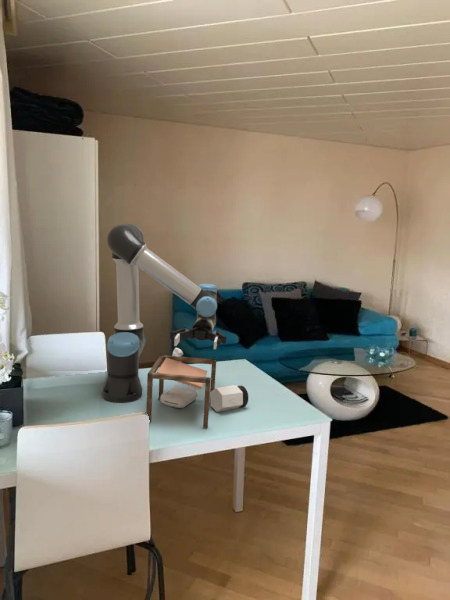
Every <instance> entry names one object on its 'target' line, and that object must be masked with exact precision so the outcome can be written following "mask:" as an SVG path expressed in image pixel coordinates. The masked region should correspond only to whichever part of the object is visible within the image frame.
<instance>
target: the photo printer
mask: <svg viewBox="0 0 450 600" xmlns="http://www.w3.org/2000/svg"><path fill="white" fill-rule="evenodd" d="M197 398H198V391H197V390H196V389H193V388H191V387H185V386H182V385H174V386H172V387H170V389H167V390H166V391H163V394H162V395H161V397H160V400H159V402H160V403H162V404H163V405H165V406H167V407H168V406H169V407H171V408H177V409H183V408H186V406H188V405H190V404H191V403H193V402H194V401H196V399H197Z"/></svg>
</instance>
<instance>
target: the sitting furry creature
mask: <svg viewBox="0 0 450 600" xmlns="http://www.w3.org/2000/svg"><path fill="white" fill-rule="evenodd" d="M183 355H184V352H183V350H182V349H180V348H179V347H175V348H174V349H173V351H172V354H171V356H179V357H183Z"/></svg>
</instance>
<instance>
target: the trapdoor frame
mask: <svg viewBox="0 0 450 600" xmlns="http://www.w3.org/2000/svg"><path fill="white" fill-rule="evenodd" d="M166 358H169V359H172V360H175V361H178V362H181V363H190V364H192V363H193V364H204V365H205V364H206V365H211V372H210V377H209V376H208V377H207V376H206V377H197V376H186V375H174V374H162V373H157V371H158V370H159V368H160V367H161V365H162V364H163V362H164V361H165V359H166ZM216 371H217V359H212V358H203V357H188V356H181V357H179V356H172V355H167V354H166V355H165V354H161V355H159V356H158V358H157V360H156V361H155V362H154V364H153V365H152V367H151V368H150V370H148V373H147V374H146V375H147V376H146V377H147V380H146V382H147V383H146V409H145V410H146V413H147V414H148V416H149V420H150V423H149V424H151V423H152V416H153V415H152V414H153V413H152V411H153V383H154V382H153V381H154V380H158V399H157V400H158V401H160V397H161V395H162V394H163V393H164V389H165V388H164V384H165V381H164V380H167V381H174V380H175V382H177V381H187V382H198V383H203V384H204V398H203V399H204V401H203V403H204V404H203V421H202V428H203V429H208V427H209V414H210V412H209V411H210V406H211V404H210V392H212V391H213V390H214V389H215V388H216V375H217V373H216ZM146 413H145V414H146Z"/></svg>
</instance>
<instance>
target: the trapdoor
mask: <svg viewBox="0 0 450 600" xmlns="http://www.w3.org/2000/svg"><path fill="white" fill-rule="evenodd" d="M156 373H162V374H174V375H186V376H197V377H207V373H208V370H206V369H204V368H203V369H202V368H200V367H196V366H193V365H190V364H187V363H185V362H178V361H175V360H172V359H169V358H166V359H165V361H164V362H163V364H162V365H161V367H159V368H158V370H157V371H156ZM174 381H175V380H173V382H174ZM175 382H177V383H181V384H184V385H187V386H190V387H193V388H195V389H199V390H202V388H203V385H204V383H198V382H187V381H175Z"/></svg>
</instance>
